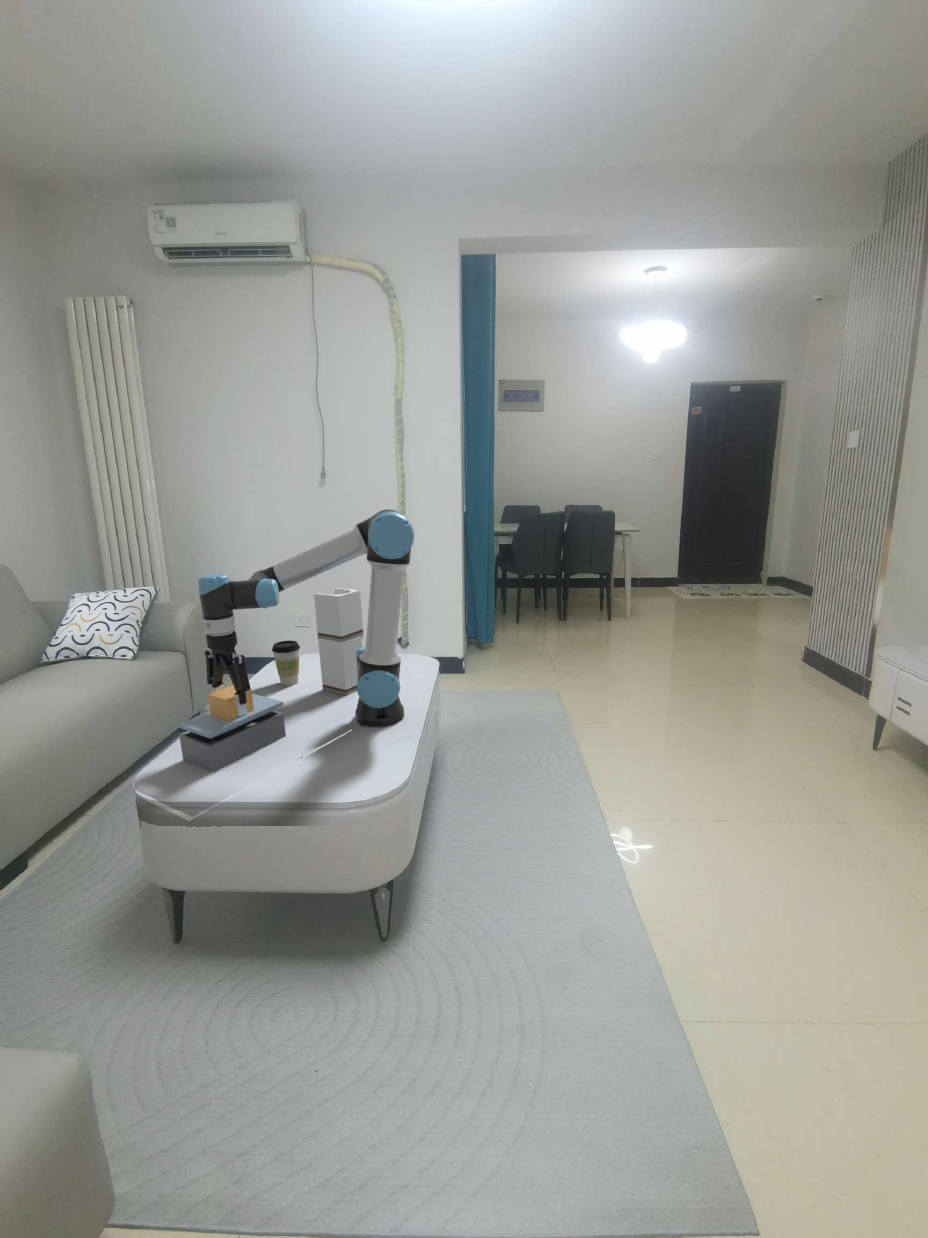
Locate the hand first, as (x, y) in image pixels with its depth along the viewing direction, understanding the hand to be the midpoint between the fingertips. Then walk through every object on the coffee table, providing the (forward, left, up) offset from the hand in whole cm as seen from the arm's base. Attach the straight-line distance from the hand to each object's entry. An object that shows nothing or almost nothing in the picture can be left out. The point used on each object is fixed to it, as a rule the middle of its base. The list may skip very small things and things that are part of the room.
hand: (232, 711), depth 162 cm
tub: (0, 0, -12) cm, 12 cm away
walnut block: (0, +7, -11) cm, 13 cm away
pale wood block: (0, -7, -11) cm, 13 cm away
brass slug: (0, 0, -11) cm, 11 cm away
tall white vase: (+7, -51, -12) cm, 53 cm away
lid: (0, 0, -1) cm, 1 cm away
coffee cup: (+29, -45, -12) cm, 55 cm away
